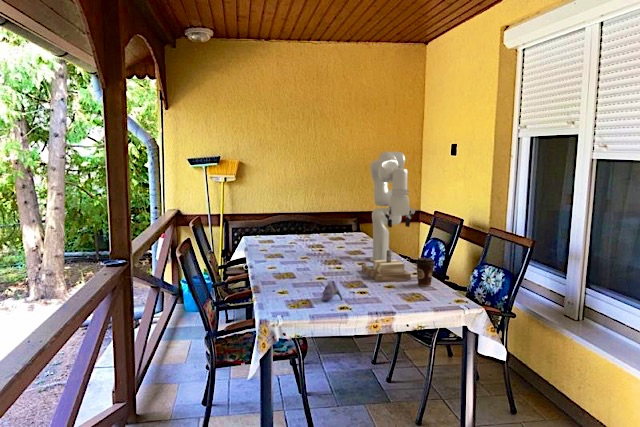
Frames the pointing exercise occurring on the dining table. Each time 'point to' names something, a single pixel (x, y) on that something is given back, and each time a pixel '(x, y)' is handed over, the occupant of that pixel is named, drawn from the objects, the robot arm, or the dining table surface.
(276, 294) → the dining table surface
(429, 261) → the coffee cup
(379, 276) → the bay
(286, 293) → the dining table surface
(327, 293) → the grey arched piece
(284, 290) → the dining table surface
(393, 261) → the square knob plate
